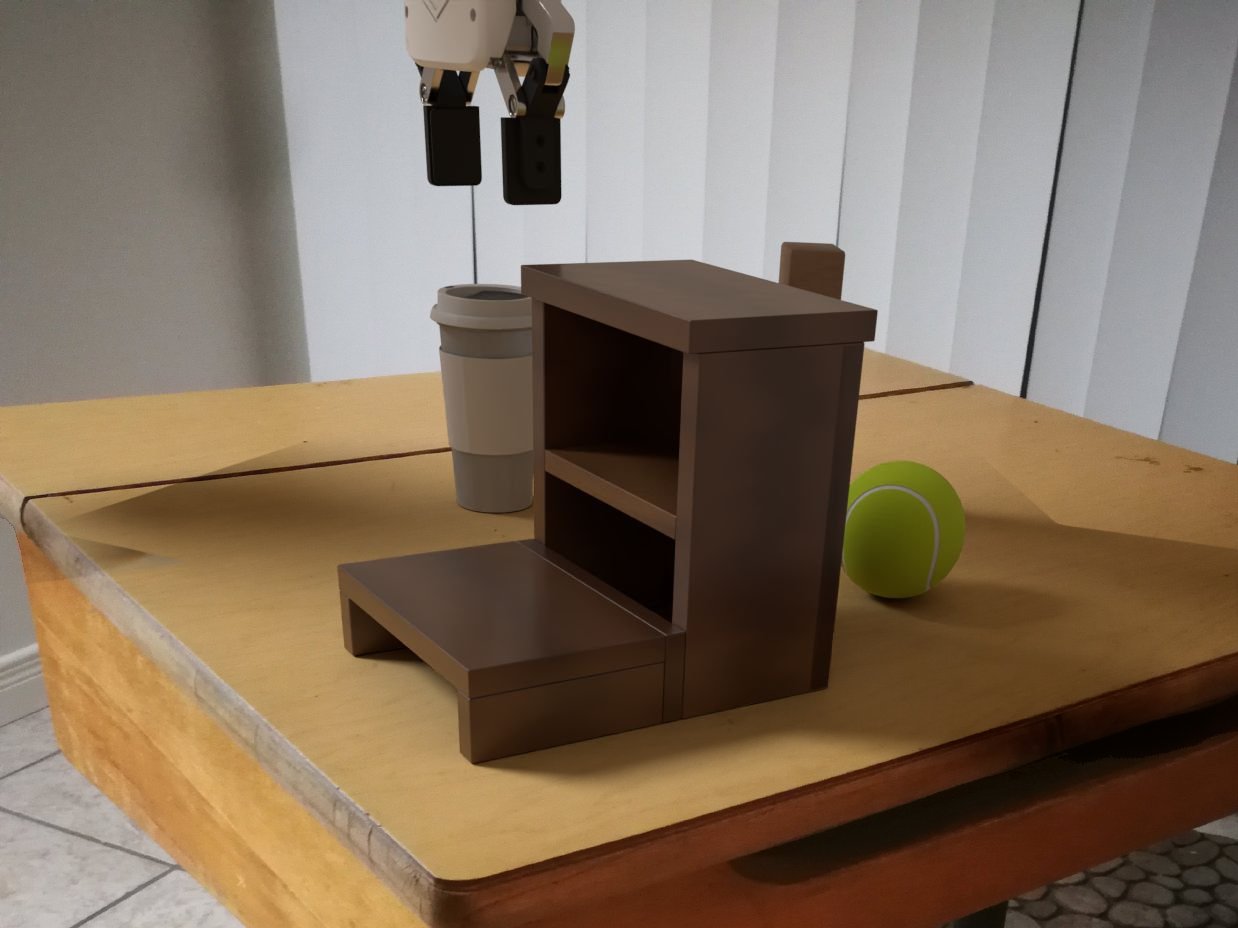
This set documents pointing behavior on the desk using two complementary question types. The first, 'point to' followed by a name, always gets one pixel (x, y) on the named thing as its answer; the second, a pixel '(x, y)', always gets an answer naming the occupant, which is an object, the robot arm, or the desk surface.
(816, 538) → the shelf
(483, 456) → the cup
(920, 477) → the tennis ball
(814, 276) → the wooden block
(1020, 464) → the desk surface
